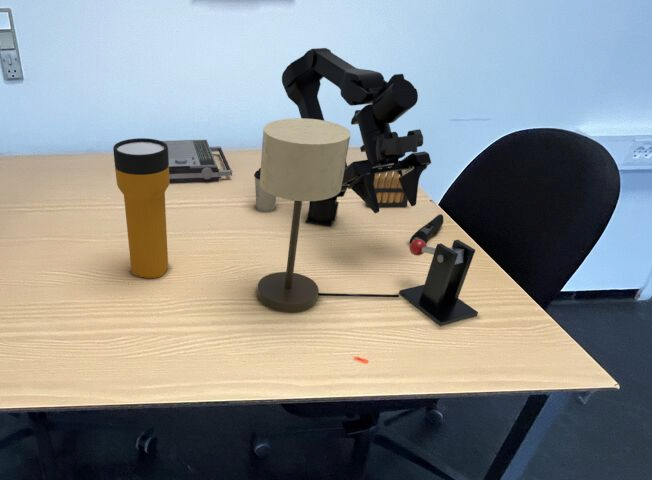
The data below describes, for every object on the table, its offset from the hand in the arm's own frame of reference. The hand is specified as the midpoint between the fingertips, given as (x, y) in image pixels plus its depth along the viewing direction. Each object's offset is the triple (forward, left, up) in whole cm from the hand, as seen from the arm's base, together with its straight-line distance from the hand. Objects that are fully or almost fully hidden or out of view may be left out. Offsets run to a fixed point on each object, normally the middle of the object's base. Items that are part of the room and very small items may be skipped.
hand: (395, 209), depth 106 cm
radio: (-60, +42, -13) cm, 74 cm away
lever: (+9, -10, -5) cm, 14 cm away
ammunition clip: (-2, +34, -13) cm, 36 cm away
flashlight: (-47, -19, -13) cm, 52 cm away
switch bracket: (+12, -13, -13) cm, 22 cm away
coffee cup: (-32, +21, -13) cm, 40 cm away
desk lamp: (-10, -17, -13) cm, 23 cm away
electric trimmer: (+9, +19, -13) cm, 24 cm away
